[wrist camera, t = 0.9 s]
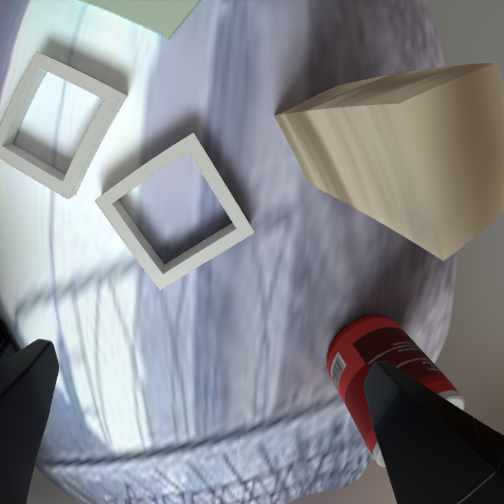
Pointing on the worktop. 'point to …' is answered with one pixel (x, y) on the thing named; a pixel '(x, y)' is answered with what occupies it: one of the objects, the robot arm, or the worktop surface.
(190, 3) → the pad
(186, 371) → the worktop surface
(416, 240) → the block
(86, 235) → the worktop surface
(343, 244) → the worktop surface
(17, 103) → the frame
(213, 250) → the frame
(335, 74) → the worktop surface
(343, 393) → the canned food
